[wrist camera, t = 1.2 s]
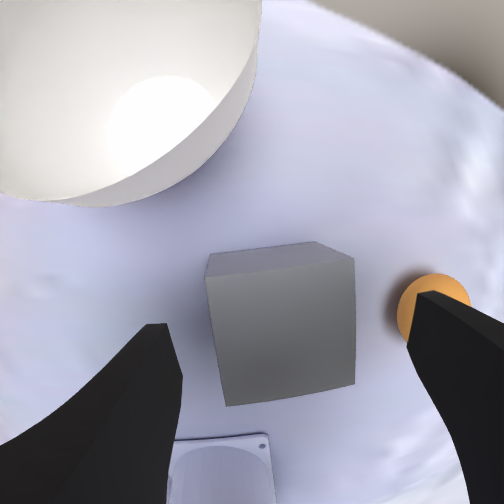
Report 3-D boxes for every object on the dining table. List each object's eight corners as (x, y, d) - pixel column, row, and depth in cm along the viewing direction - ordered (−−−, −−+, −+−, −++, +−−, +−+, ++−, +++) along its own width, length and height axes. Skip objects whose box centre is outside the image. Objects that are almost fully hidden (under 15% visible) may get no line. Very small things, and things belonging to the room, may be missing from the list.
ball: (439, 327, 20) (480, 353, 15) (382, 343, 20) (419, 376, 15) (442, 262, 20) (489, 276, 15) (383, 272, 19) (427, 292, 14)
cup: (73, 103, 16) (-52, 26, 4) (204, 38, 16) (191, -111, 4) (124, 232, 18) (-11, 276, 6) (266, 164, 18) (342, 95, 6)
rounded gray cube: (320, 336, 19) (354, 384, 14) (224, 350, 19) (225, 406, 13) (314, 241, 19) (353, 258, 13) (210, 253, 18) (204, 277, 12)
